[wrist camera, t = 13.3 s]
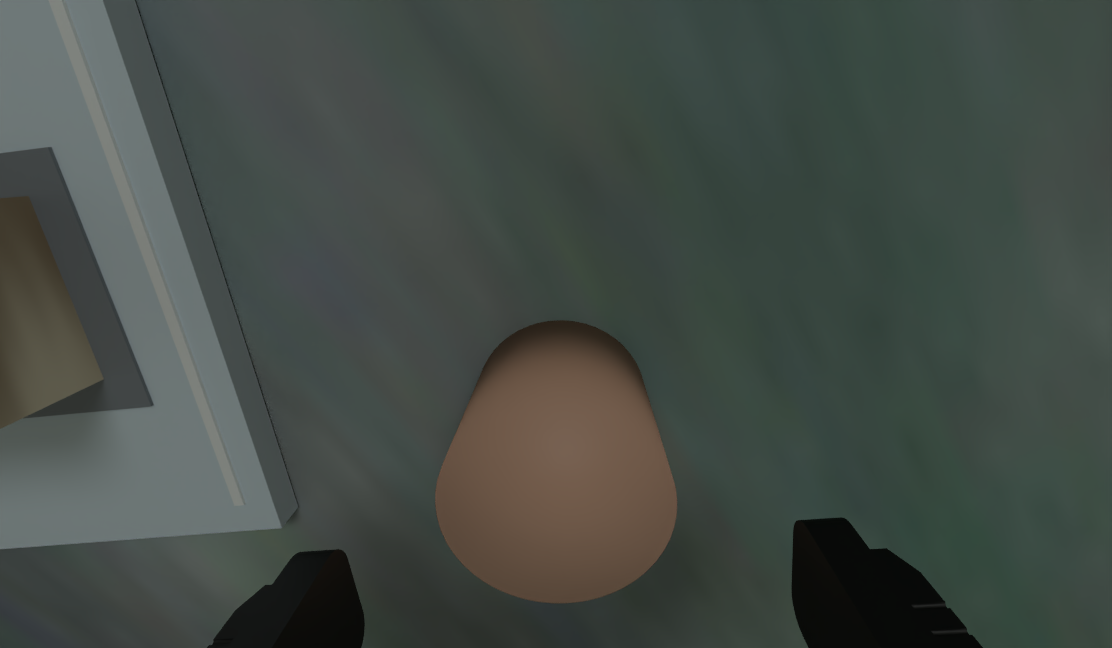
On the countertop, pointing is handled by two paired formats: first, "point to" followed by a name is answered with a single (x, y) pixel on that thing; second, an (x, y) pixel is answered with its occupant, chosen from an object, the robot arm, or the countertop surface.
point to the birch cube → (36, 321)
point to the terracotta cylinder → (557, 469)
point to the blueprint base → (125, 301)
